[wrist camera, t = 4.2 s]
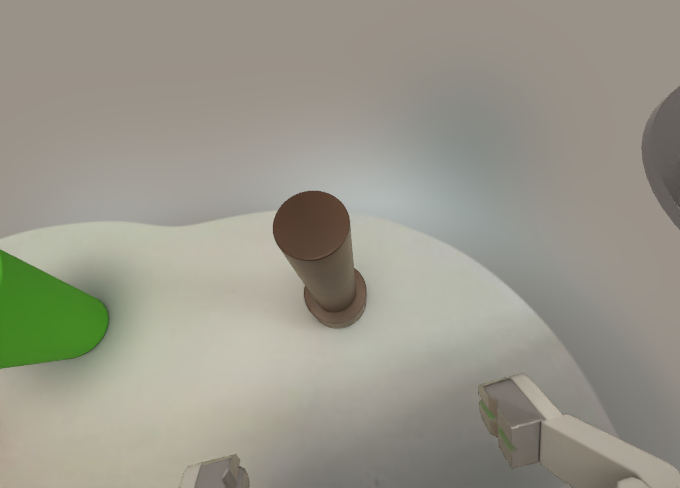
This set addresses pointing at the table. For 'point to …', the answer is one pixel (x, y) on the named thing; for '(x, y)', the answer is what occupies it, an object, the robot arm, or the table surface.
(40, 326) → the cup
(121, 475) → the table surface
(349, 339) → the table surface
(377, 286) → the table surface
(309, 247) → the muddler
